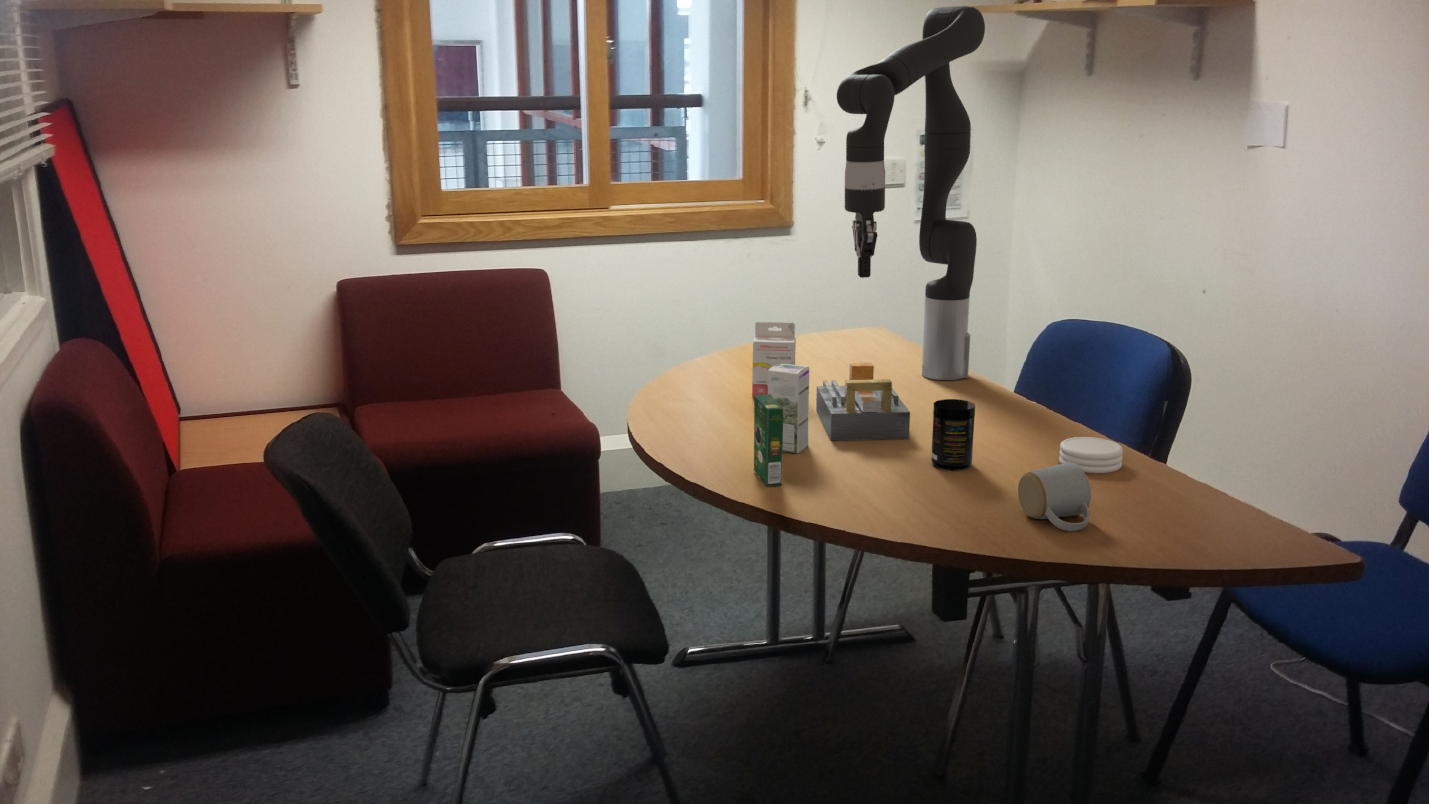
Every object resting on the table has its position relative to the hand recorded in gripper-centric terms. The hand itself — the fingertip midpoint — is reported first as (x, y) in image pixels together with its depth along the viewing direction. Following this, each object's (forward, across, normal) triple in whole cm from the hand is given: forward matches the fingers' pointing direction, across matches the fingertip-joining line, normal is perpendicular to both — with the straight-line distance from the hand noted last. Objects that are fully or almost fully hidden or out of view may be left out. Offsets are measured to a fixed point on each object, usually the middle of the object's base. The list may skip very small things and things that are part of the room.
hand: (864, 276), depth 223 cm
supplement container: (+25, -39, -8) cm, 47 cm away
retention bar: (+19, -19, +3) cm, 27 cm away
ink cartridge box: (+25, +7, +17) cm, 31 cm away
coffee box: (+24, -44, +24) cm, 55 cm away
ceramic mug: (+24, -64, -17) cm, 71 cm away
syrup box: (+24, -28, +18) cm, 41 cm away
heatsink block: (+25, -15, +3) cm, 29 cm away
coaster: (+26, -40, -30) cm, 57 cm away
